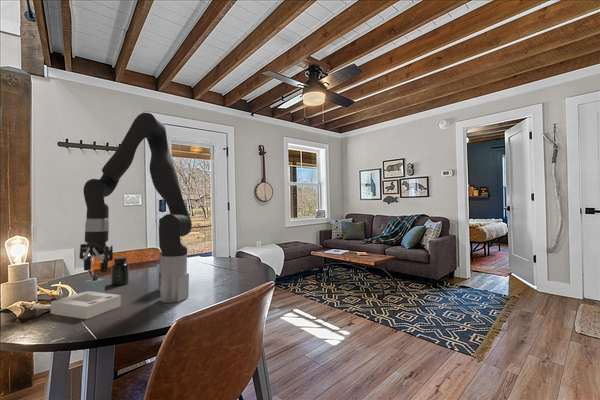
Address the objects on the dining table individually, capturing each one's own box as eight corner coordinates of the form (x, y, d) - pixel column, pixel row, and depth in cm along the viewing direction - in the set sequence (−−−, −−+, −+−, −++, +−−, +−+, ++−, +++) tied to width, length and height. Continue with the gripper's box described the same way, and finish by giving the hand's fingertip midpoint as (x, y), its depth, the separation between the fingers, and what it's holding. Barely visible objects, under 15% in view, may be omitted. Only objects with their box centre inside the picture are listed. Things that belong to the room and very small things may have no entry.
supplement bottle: (132, 282, 130) (132, 256, 130) (121, 286, 123) (121, 259, 123) (118, 281, 130) (119, 256, 131) (107, 285, 123) (107, 259, 124)
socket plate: (120, 306, 99) (120, 294, 99) (86, 319, 87) (87, 306, 87) (87, 301, 103) (87, 290, 103) (50, 313, 91) (50, 301, 91)
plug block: (104, 296, 109) (105, 274, 109) (93, 300, 104) (93, 276, 105) (95, 295, 110) (96, 273, 110) (84, 299, 106) (85, 275, 106)
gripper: (119, 230, 110) (118, 270, 109) (93, 228, 114) (91, 267, 113) (101, 231, 102) (99, 275, 102) (73, 229, 106) (71, 271, 106)
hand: (95, 271), depth 108 cm, fingers open, 8 cm apart
